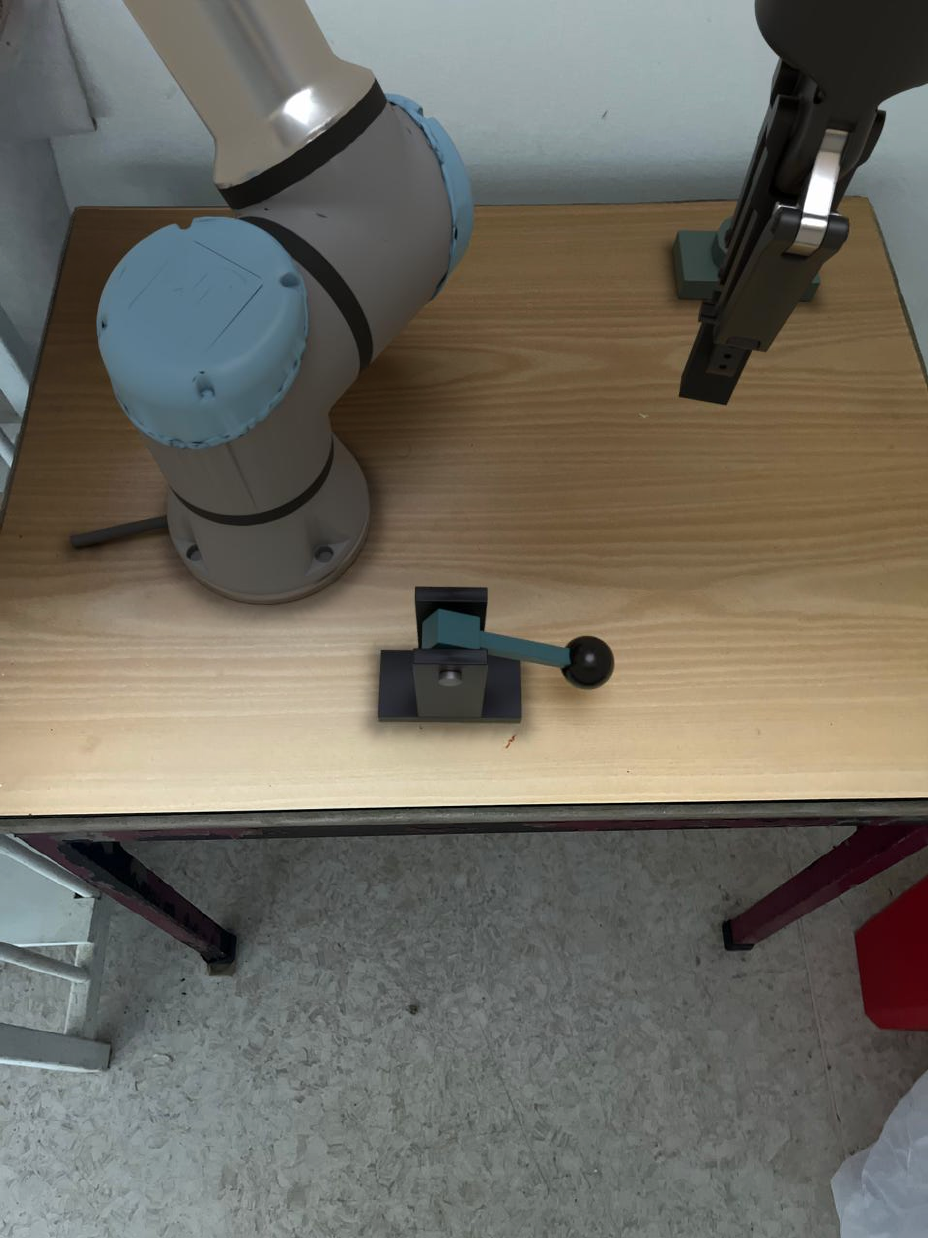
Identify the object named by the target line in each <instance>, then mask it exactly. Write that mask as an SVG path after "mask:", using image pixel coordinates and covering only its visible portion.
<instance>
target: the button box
mask: <svg viewBox="0 0 928 1238" xmlns="http://www.w3.org/2000/svg"><path fill="white" fill-rule="evenodd" d="M732 217H733V215H731V216H729V217H727V218H725V219H724V220H723V221H722V223H721V224H720V226H719V228H718V229H717V230H693V229H692V230H691V229H690V230H688V229H678V230H677V233H676V235H675V239H674V242H673V245H672V249H671V250H672V257H673V267H674V275H675V283H676V289H677V298H678V299H681V300H710V299H711V296H712V294H713V291H714V290H715V291H721V292H722V291H723V288H724V286H721V285H718V277H717V274H718V270H719V267H720V266H721V264H722V263H723V261H724V259H725V256H726V253H727V251H728V249H725V243H724V241H725V240H724V236H725V233H726V230H728V229H729V227H730V224H731V221H732ZM820 285H821V277H820V272H819V271H818V273H817V275H816V276H815V278H814V279H813V281H812V282H811V284H810V285H809V287H808V289H807V290H806V292H805V293H804V295H803V296H802V298H801V299H800V301H799V302H812V300H813V298H814V297H815V294H816V292H817V290H818V288H819V287H820Z"/></svg>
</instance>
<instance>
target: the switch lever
mask: <svg viewBox="0 0 928 1238" xmlns="http://www.w3.org/2000/svg"><path fill="white" fill-rule="evenodd" d="M422 648H428V649H487V650H488V655H493V656H499V657H504V658H509V659H515V660H520V662H525V663H531V664H536V665H542V666H547V667H552V668H556V669H557V668H558V669H559V670H560V672H561V674H562V677H563V678H564V680H565V681H566V682H567V683H568V684H569V685H571V686H572V687H573V688H575V689H578V690H583V691H593V690H597V689H598V688H601V687H603V686H604V685H605V684H607V683H608V682H609V680H610V679H611V677H612V676H613V673H614V670H615V665H616V659H615V655H614V652H613V650H612V648H611V647H610V646H609V644H608V643H607V642H606V641H605V640H603V639H602V638H599V637H598V636H595V635H579V636H577V637H575V638H573V639H570V641H569V642H567V643H566V644H565V646H559V645H554V644H549V643H543V642H540V641H539V642H538V641H534V640H529V639H523V638H519V637H515V636H509V635H504V634H500V633H495V632H491V631H490V632H489V631H486V630H485V631H480V617H477V616H472V615H467V614H462V613H457V612H453V611H448V610H443V609H438V610H437V611H435V612H434V613H433V614H432V615H431V616H430V617H428V618H427V619H426V620H425V621H424V622H423V625H422Z"/></svg>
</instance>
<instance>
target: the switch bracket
mask: <svg viewBox="0 0 928 1238" xmlns="http://www.w3.org/2000/svg"><path fill="white" fill-rule="evenodd" d="M488 588H489V587H487V586H424V585H423V586H421V585H419V586H414V610H415V625H416V636H417V647H415V648H413V649H380V660H379V661H380V662H379V679H378V702H377V719H378V721H379V722H389V723H390V722H391V723H392V722H393V723H394V722H397V723H399V722H401V723H480V724H481V723H482V724H483V723H484V724H485V723H490V724H491V723H492V724H493V723H494V724H497V723H498V724H501V723H502V724H520V723H521V722H522V678H521V675H522V674H521V672H522V671H521V661H520V660H515V659H509V658H504V657H499V656H493V655H488V650H487V649H428V648H422V625H423V622H424V621H425V620H426V619H427V618H428V617H430V616H431V615H432V614H433V613H434V612H435V611H437V610H438V609H443V610H448V611H453V612H457V613H462V614H467V615H472V616H477V617H480V631H485V632H486V624H487V623H486V622H487V613H488V605H489V589H488Z"/></svg>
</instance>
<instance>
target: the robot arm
mask: <svg viewBox="0 0 928 1238" xmlns="http://www.w3.org/2000/svg"><path fill="white" fill-rule="evenodd" d="M121 1H122V3H123V4H124V6H125V7H126V9H127V10H128V12H129V13H130V15H131V16H132V18H133V19H134V21H135V22H136V24H137V25H138V27H139V28H140V30H141V31H142V33H143V34H144V36H145V38H146V39H147V40H148V42H149V43H150V45H151V46H152V48H153V49H154V51H155V52H156V54H157V56H158V57H159V58H160V60H161V61H162V63H163V64H164V66H165V68H166V69H167V71H168V72H169V74H170V75H171V76H172V78H173V80H174V81H175V83H176V84H177V86H178V87H179V88H180V90H181V92H182V93H183V95H184V96H185V98H186V99H187V101H188V102H189V104H190V105H191V107H192V108H193V110H194V111H195V113H196V114H197V116H198V117H199V119H200V120H201V122H202V123H203V125H204V127H205V128H206V129H207V131H208V132H209V134H210V136H211V137H212V138H213V143H214V145H213V146H214V155H213V156H214V157H213V165H212V177H211V178H212V179H211V180H212V183H213V185H214V186H215V188H216V189H217V191H218V192H219V194H220V195H221V197H222V198H223V199H224V201H225V202H226V205H228V207H229V209H230V210H231V212H232V213H233V215H234V216H235V218H233V217H229V216H218V215H217V216H215V215H213V216H199V217H193V219H192V222H191V224H190V226H189V227H187V228H183V229H182V228H181V227H180V225H178V224H177V223H172V224H168V225H166V226H164V227H161V228H160V229H158V230H156V231H154V232H152V233H151V234H150V235H148V236H147V237H145V238H143V239H142V240H140V241H139V242H138V243H136V244H135V245H134V246H133V247H132V248H131V249H130V250H129V251H128V252H126V254H125V255H124V256H123V257H122V258H121V260H120V261H119V262H118V263H117V265H116V266H115V267H114V269H112V271H111V274H110V276H109V277H108V279H107V281H106V283H105V285H104V287H103V289H102V292H101V295H100V299H99V303H98V307H97V314H96V334H97V344H98V349H99V352H100V356H101V358H102V361H103V364H104V366H105V369H106V371H107V374H108V376H109V379H110V383H111V386H112V390H113V393H114V395H115V397H116V400H117V401H118V403H119V406H120V408H121V410H122V411H123V412H124V414H125V415H126V416H127V418H128V419H129V420H130V421H131V423H132V424H133V425H134V426H135V428H136V430H137V432H138V434H139V435H140V437H141V439H142V440H143V442H144V444H145V446H146V448H147V449H148V451H149V452H150V455H151V456H152V458H153V460H154V462H155V463H156V465H157V467H158V468H159V471H160V472H161V473H162V475H163V477H164V479H165V481H166V483H167V492H166V496H167V497H166V501H167V502H166V514H164V515H160V516H155V517H150V518H145V519H141V520H136V521H132V522H127V523H126V522H125V523H121V524H118V525H114V526H109V527H105V528H102V529H96V530H92V531H88V532H84V533H78V534H72V535H70V536H69V542H70V545H71V547H72V548H78V547H86V546H89V545H93V544H94V545H95V544H98V543H103V542H107V541H111V540H115V539H120V538H124V537H129V536H133V535H138V534H142V533H146V532H147V533H148V532H151V531H156V530H162V529H166V528H168V531H169V535H170V536H169V537H170V539H171V542H172V545H173V547H174V549H175V551H176V553H177V555H178V556H179V558H180V559H181V561H182V562H183V563H184V565H185V567H186V568H187V570H188V571H189V572H190V573H191V575H192V576H193V577H194V578H195V579H196V580H197V581H199V582H200V583H201V584H202V585H204V586H205V587H206V588H207V589H209V590H211V591H213V592H214V593H216V594H218V595H220V596H222V597H224V598H227V599H230V600H233V601H236V602H237V601H238V602H240V603H247V604H253V605H254V604H255V605H275V604H282V603H288V602H292V601H296V600H299V599H302V598H306V597H308V596H311V595H313V594H315V593H317V592H319V591H321V590H322V589H324V588H325V587H328V586H329V585H330V584H331V583H333V582H334V581H336V580H337V579H338V578H339V577H341V575H343V574H344V573H345V572H346V571H347V570H348V569H349V567H351V565H352V564H353V562H355V560H356V559H357V557H358V556H359V554H360V552H361V551H362V548H363V546H364V544H365V542H366V540H367V536H368V534H369V529H370V524H371V518H372V517H371V512H372V511H371V501H370V494H369V489H368V484H367V481H366V480H367V479H366V477H365V475H364V472H363V470H362V469H361V467H360V465H359V463H358V461H357V459H356V458H355V456H354V455H353V453H352V452H351V451H350V450H349V448H347V447H346V446H345V445H344V444H343V443H342V441H341V440H340V439H339V438H338V436H337V435H336V434H335V433H334V431H332V426H331V421H330V416H329V413H330V411H331V409H332V407H333V406H335V404H336V402H337V401H338V400H339V399H340V398H341V397H342V396H343V395H344V394H345V392H347V390H348V389H349V388H350V387H351V386H352V384H353V383H354V382H355V381H356V380H358V378H359V377H360V376H361V375H362V373H363V372H365V371H366V369H368V367H369V366H370V365H371V364H372V363H373V362H374V361H375V360H376V359H377V358H378V356H380V354H381V353H382V352H383V351H384V350H385V349H386V348H387V347H388V346H389V345H390V344H391V342H392V341H393V340H394V339H395V338H396V337H397V336H398V335H399V334H400V333H401V332H402V330H404V328H405V327H406V326H407V325H408V324H409V323H410V322H411V321H412V320H413V319H414V318H415V317H416V315H418V313H419V312H420V311H421V310H422V309H423V308H424V307H425V306H426V305H427V304H428V303H430V302H431V301H433V300H434V299H435V298H437V296H438V295H439V294H440V293H441V291H442V290H443V288H444V287H445V285H446V283H447V281H448V279H449V277H450V276H451V274H452V273H453V272H454V271H455V269H456V268H457V267H458V266H459V264H460V263H461V261H462V260H463V259H464V256H465V255H466V253H467V251H468V248H469V244H470V241H471V239H472V235H473V231H474V224H475V223H474V222H475V206H474V205H475V204H474V196H473V190H472V186H471V185H472V184H471V181H470V178H469V175H468V172H467V168H466V166H465V163H464V161H463V158H462V156H461V154H460V152H459V150H458V149H457V146H456V144H455V143H454V141H453V139H452V137H451V136H450V135H449V133H448V132H447V131H446V129H445V128H444V127H443V125H442V124H441V123H440V121H438V119H437V118H435V117H434V116H432V117H431V116H430V117H428V118H426V117H425V116H424V109H423V106H422V105H420V104H419V103H418V102H416V101H415V100H413V99H411V98H409V97H406V96H404V95H401V94H397V93H391V92H390V93H388V92H384V91H383V89H382V87H381V85H380V83H379V81H378V79H377V77H376V75H375V73H374V72H373V70H372V69H370V68H368V67H366V66H362V65H359V64H356V63H353V62H350V61H348V60H344V59H342V58H340V57H339V56H337V55H336V54H335V53H334V52H333V50H332V48H331V46H330V44H329V42H328V40H327V39H326V37H325V34H324V33H323V31H322V29H321V27H320V25H319V24H318V22H317V20H316V18H315V16H314V14H313V12H312V11H311V9H310V7H309V5H308V3H307V1H306V0H121ZM753 7H754V16H755V21H756V25H757V27H758V30H759V32H760V34H761V36H762V38H763V39H764V42H765V43H766V44H767V46H768V47H769V48H770V49H771V50H772V51H773V53H774V54H775V55H776V56H778V60H777V63H776V66H775V69H774V72H773V74H772V77H771V85H770V94H769V103H768V106H767V110H766V112H765V115H764V118H763V121H762V124H761V126H760V129H759V132H758V135H757V137H756V138H757V139H756V144H755V146H754V150H753V153H752V156H751V159H750V162H749V165H748V168H747V171H746V175H745V178H744V181H743V184H742V187H741V189H740V193H739V196H738V199H737V202H736V206H735V208H734V212H733V214H732V216H733V217H732V221H731V224H730V227H729V229H728V230H726V233H725V236H724V240H725V241H724V243H725V249H728V251H727V253H726V256H725V259H724V261H723V263H722V264H721V266H720V267H719V270H718V274H717V277H718V285H721V286H724V288H723V291H722V292H721V291H715V290H714V291H713V294H712V296H711V299H709V300H708V299H701V300H702V301H701V304H700V307H699V311H698V317H697V323H700V326H699V329H698V331H697V334H696V337H695V339H694V342H693V344H692V346H691V349H690V353H689V354H688V358H687V361H686V363H685V365H684V369H683V371H682V374H681V376H680V383H679V389H678V390H679V391H678V398H682V399H687V400H693V401H699V402H704V403H709V404H715V405H721V406H728V403H729V401H730V399H731V397H732V395H733V393H734V390H735V388H736V387H737V384H738V382H739V380H740V378H741V376H742V374H743V371H744V370H745V368H746V366H747V363H748V361H749V359H750V357H751V354H752V352H753V351H756V352H762V353H767V352H768V351H769V349H770V347H771V346H772V345H773V343H774V341H775V340H776V339H777V336H778V335H779V334H780V332H781V331H782V329H783V327H784V326H785V325H786V323H787V321H788V320H789V318H790V317H791V315H792V314H793V312H794V310H795V308H796V307H797V306H798V304H799V302H801V301H800V299H801V298H802V296H803V295H804V293H805V292H806V290H807V289H808V287H809V285H810V284H811V282H812V281H813V279H814V278H815V276H816V275H817V273H818V272H819V271H820V270H821V269H822V267H823V266H824V265H825V263H826V262H828V261H829V260H830V259H831V258H833V257H834V256H835V255H836V254H837V253H839V251H840V250H841V249H842V247H843V246H844V244H845V243H846V242H847V239H848V237H849V235H850V224H851V223H850V218H849V216H843V215H842V212H841V211H840V210H837V209H838V208H839V206H840V203H841V201H842V200H843V197H844V196H845V193H846V191H847V189H848V187H849V186H850V184H851V181H852V179H853V177H854V175H855V173H856V171H857V170H858V168H859V167H861V166H863V164H866V163H867V161H868V160H869V159H870V157H871V156H872V153H873V152H874V149H875V147H876V146H877V144H878V142H879V140H880V137H881V135H882V133H883V130H884V127H885V123H886V120H887V110H884V109H879V107H880V105H881V104H882V103H883V102H885V101H886V100H889V99H890V98H893V97H895V96H896V95H899V94H901V93H904V92H907V91H909V90H913V89H916V88H920V87H922V86H923V87H924V86H926V85H928V0H754V6H753Z"/></svg>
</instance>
